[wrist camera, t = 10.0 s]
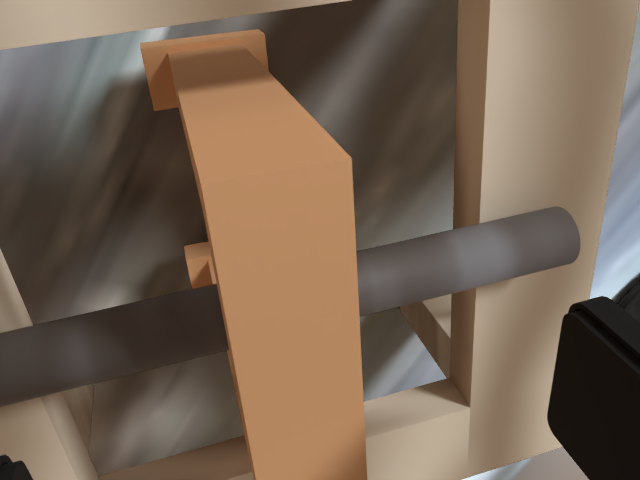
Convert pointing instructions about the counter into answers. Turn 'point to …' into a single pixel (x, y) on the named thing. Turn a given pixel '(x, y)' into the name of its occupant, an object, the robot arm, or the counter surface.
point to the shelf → (496, 170)
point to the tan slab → (272, 252)
